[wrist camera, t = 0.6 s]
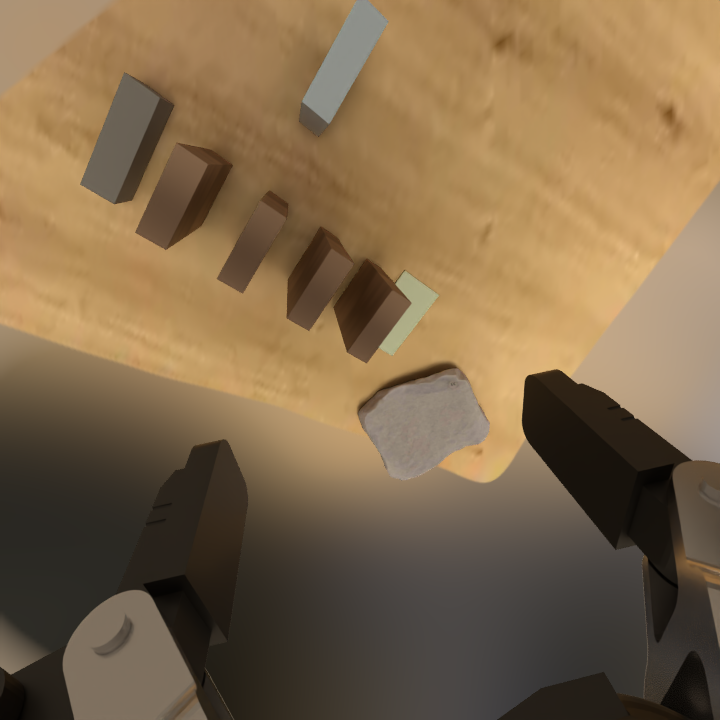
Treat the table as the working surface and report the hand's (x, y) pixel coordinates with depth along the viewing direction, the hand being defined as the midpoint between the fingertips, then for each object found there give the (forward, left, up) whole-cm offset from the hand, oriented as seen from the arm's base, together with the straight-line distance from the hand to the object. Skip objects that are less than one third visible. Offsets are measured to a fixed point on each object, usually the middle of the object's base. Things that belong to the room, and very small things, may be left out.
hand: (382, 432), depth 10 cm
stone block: (+8, +17, -24) cm, 30 cm away
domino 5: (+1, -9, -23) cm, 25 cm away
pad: (+1, +9, -23) cm, 25 cm away
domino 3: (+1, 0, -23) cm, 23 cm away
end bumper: (+1, -14, -23) cm, 27 cm away
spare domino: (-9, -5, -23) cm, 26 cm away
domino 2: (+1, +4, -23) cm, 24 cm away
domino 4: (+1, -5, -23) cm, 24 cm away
